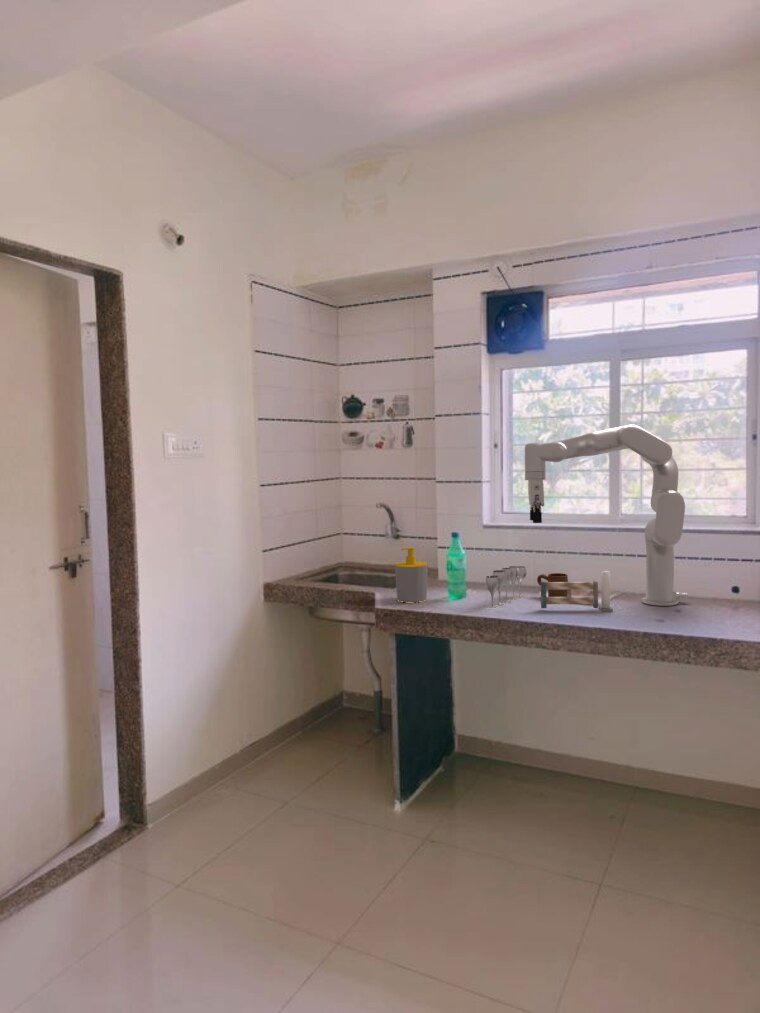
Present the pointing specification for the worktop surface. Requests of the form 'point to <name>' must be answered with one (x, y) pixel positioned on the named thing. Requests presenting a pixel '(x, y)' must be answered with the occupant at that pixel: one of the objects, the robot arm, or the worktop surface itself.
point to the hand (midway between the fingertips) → (535, 521)
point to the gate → (569, 593)
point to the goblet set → (505, 581)
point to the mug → (555, 578)
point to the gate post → (605, 592)
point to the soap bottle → (411, 578)
